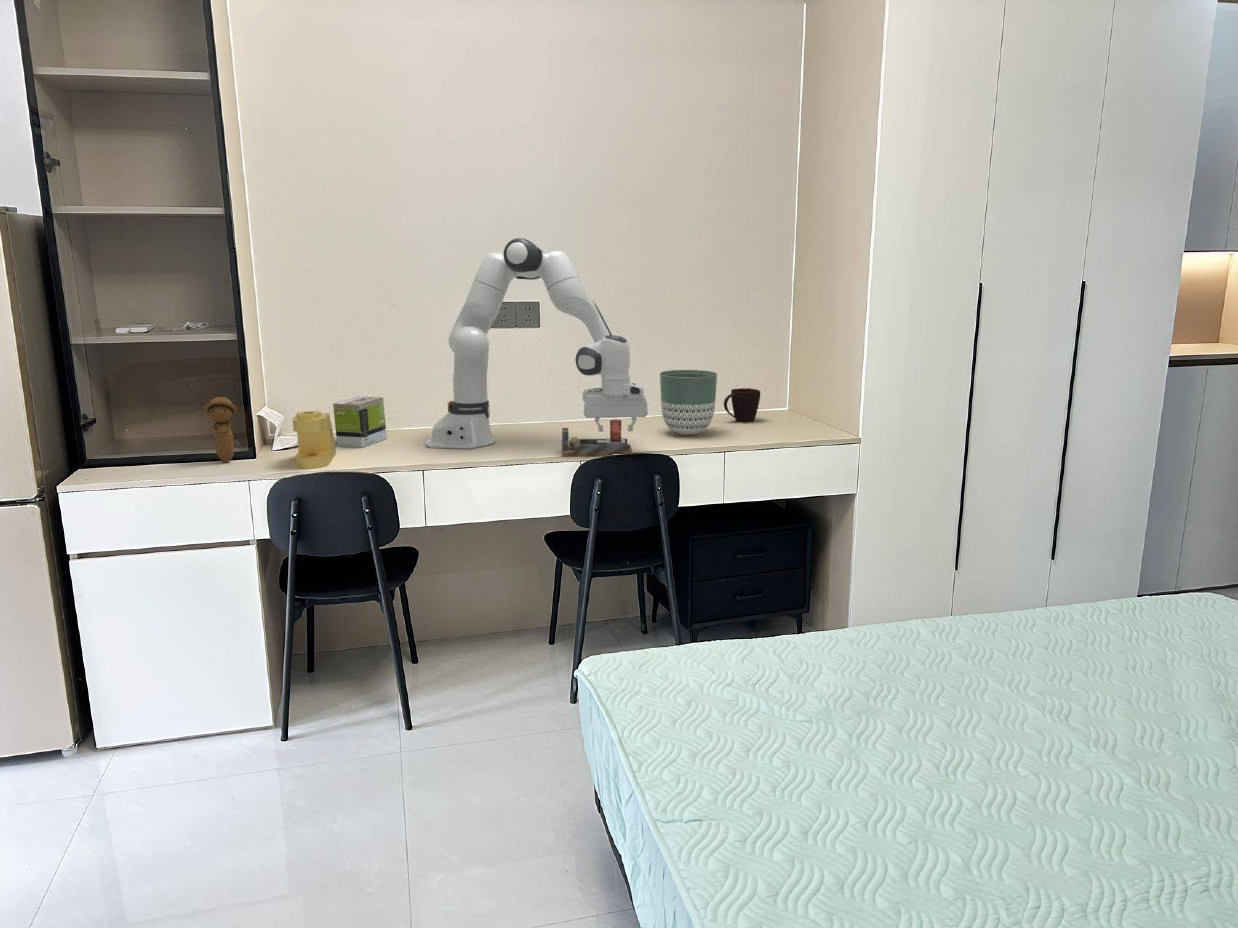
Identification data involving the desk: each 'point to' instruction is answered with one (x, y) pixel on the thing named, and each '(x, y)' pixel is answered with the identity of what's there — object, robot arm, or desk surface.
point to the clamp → (314, 439)
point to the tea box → (359, 421)
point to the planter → (688, 400)
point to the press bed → (592, 447)
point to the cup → (743, 404)
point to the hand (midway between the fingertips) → (615, 431)
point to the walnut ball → (574, 441)
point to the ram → (613, 434)
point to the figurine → (222, 426)
